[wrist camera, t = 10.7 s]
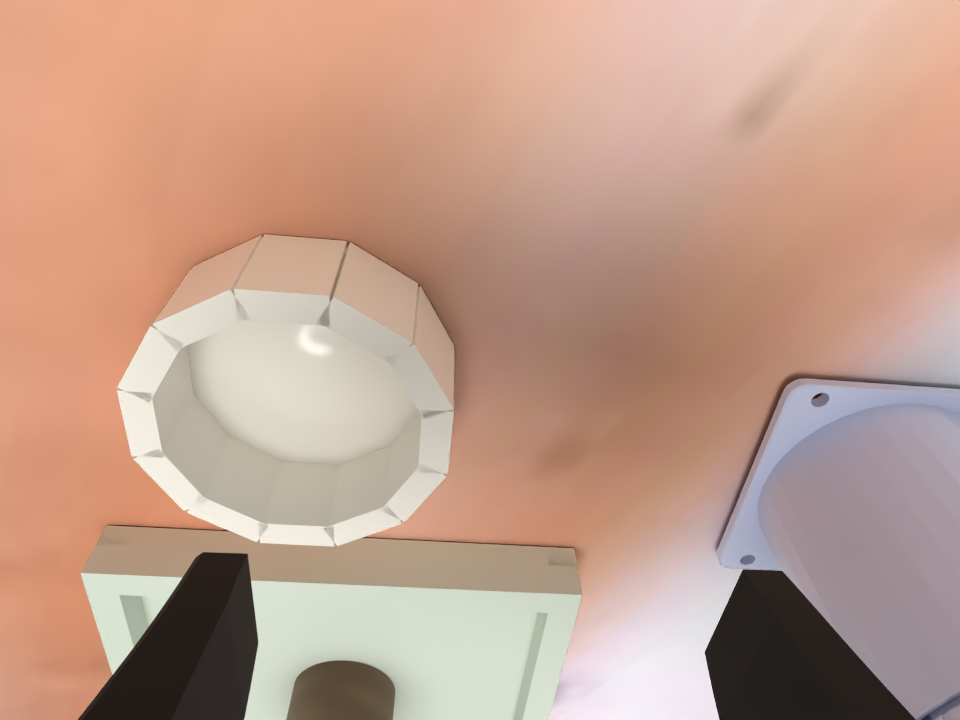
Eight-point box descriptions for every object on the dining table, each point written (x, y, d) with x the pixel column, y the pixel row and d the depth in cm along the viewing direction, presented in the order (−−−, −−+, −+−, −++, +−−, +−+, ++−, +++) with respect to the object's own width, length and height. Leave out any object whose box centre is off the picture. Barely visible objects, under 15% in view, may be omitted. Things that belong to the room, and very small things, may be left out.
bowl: (463, 250, 19) (464, 306, 16) (441, 480, 23) (439, 551, 21) (142, 224, 18) (91, 277, 15) (183, 465, 22) (149, 537, 20)
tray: (573, 548, 25) (582, 595, 23) (516, 777, 34) (519, 823, 32) (106, 525, 24) (80, 572, 22) (172, 769, 33) (157, 816, 31)
